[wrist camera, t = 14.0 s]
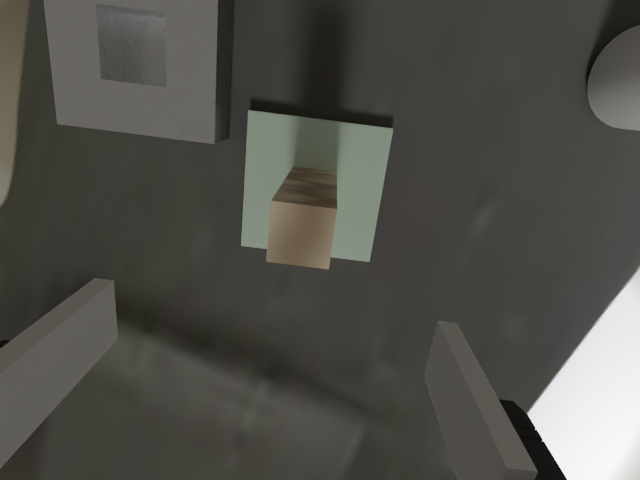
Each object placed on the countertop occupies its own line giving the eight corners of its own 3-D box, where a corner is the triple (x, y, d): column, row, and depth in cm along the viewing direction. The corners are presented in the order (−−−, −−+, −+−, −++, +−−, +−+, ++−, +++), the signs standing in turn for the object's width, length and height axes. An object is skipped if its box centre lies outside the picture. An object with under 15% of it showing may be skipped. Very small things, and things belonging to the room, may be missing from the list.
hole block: (90, 120, 39) (57, 123, 34) (77, -44, 34) (36, -67, 29) (229, 138, 39) (214, 144, 34) (235, -24, 34) (219, -43, 29)
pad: (243, 242, 43) (241, 245, 42) (250, 109, 38) (248, 110, 37) (368, 258, 43) (369, 262, 42) (391, 128, 38) (393, 128, 37)
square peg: (289, 208, 40) (266, 261, 27) (293, 166, 39) (271, 200, 26) (331, 213, 40) (328, 269, 27) (336, 171, 39) (337, 209, 26)
